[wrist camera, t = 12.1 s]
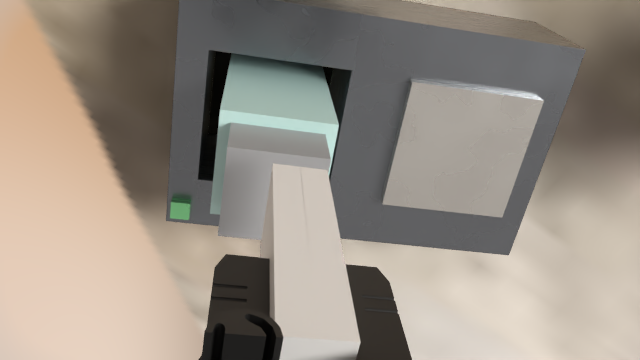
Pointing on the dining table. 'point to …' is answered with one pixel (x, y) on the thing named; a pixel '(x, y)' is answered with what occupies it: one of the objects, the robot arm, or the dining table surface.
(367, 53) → the port panel
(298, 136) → the plug
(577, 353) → the dining table surface
